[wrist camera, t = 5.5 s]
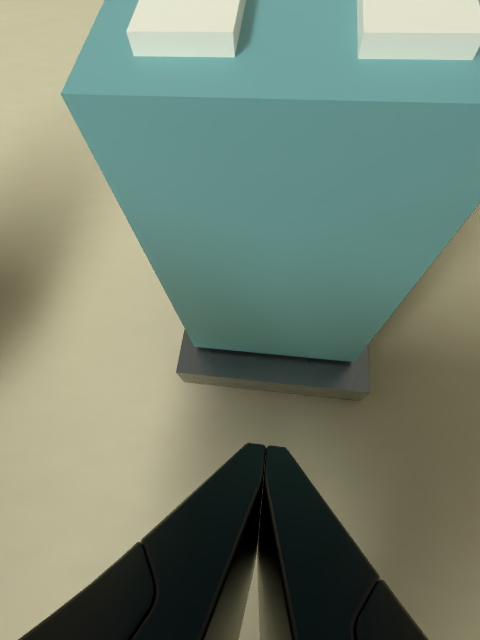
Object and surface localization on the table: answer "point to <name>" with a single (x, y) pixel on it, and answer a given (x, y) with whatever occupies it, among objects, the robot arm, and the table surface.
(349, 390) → the key two base
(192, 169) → the key two
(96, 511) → the table surface
